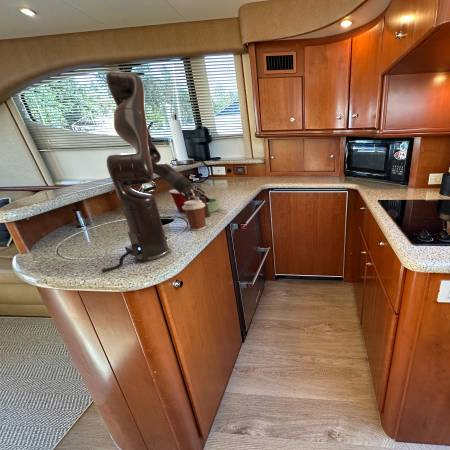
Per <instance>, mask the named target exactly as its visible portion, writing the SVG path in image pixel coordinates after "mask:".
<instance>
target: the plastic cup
mask: <svg viewBox="0 0 450 450" xmlns="http://www.w3.org/2000/svg"><path fill="white" fill-rule="evenodd" d="M168 192H169V193H170V195H171V197H172V198H173V202H174V204H175V206H176V208H177V211H178V212H179V213H185V210H183V209H182V207H183V206H184V203H185V202H186V201H187V200H186V199H185V198H184V197H182V196H181V195H180V194H181V193H179V192H178V191H177V190H175V189H174V188H172V189H170V190H169V191H168ZM188 199H189V198H188ZM189 200H190V199H189Z"/></svg>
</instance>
